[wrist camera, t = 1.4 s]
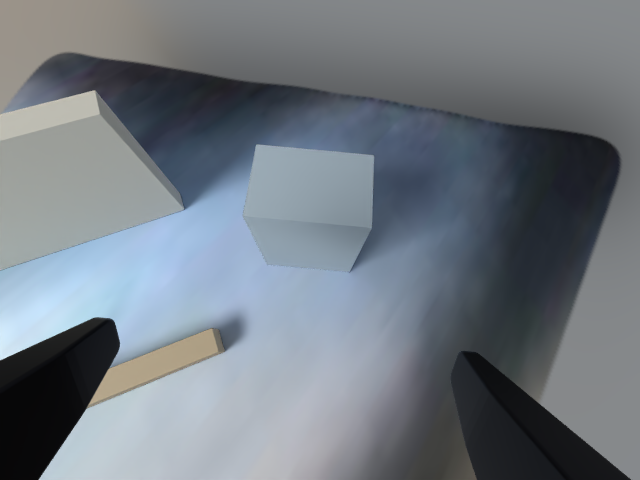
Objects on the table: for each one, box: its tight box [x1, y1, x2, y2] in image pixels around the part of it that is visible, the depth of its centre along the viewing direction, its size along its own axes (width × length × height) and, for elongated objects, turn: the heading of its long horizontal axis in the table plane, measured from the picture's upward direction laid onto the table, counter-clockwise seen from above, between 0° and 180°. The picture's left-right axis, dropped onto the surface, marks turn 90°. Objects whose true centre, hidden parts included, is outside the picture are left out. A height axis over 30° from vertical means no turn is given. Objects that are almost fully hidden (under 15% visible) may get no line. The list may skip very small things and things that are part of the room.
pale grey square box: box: [243, 144, 374, 272], centre depth 19 cm, size 5×6×8 cm
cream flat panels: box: [0, 90, 225, 409], centre depth 16 cm, size 12×14×10 cm
